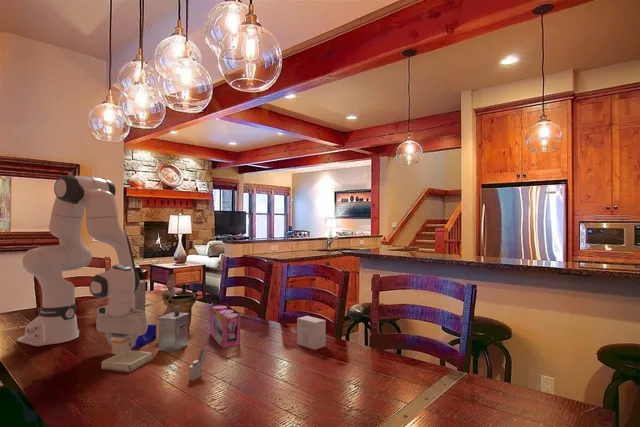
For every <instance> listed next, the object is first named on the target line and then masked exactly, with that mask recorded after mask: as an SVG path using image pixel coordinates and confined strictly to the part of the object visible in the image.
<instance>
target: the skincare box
mask: <svg viewBox="0 0 640 427" xmlns="http://www.w3.org/2000/svg"><path fill="white" fill-rule="evenodd" d="M326 322H327V320H326V319H321V318H318V317H313V316H310V315H305V316H301V317H297V318H296V325H297V326H296V328H297V329H296V330H297V331H296V336H297V337H296V345H297V346H298V345H299V346H301V347H305V348H308V349H311V350H314V351H316V350H318V349H321V348H324V347H326V345H327V344H326V342H327V341H326V340H327V339H326V338H327V337H326V336H327V334H326V330H327V328H326V327H327V326H326V325H327V323H326Z"/></svg>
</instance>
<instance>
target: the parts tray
mask: <svg viewBox="0 0 640 427" xmlns="http://www.w3.org/2000/svg"><path fill="white" fill-rule="evenodd" d="M151 361H154V353H153V352H149V351H141V350H132V349H131V350H125V351H123V352H121V353H119V354H113V355H112V356H110V357H108V358H105V359H104V360H102V361H101V370H109V371H117V372H125V373H131V372H133V371H135V370H136V369H138V368H140V367H143V366H144V365H146V364H147V363H150V362H151Z"/></svg>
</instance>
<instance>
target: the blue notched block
mask: <svg viewBox="0 0 640 427" xmlns="http://www.w3.org/2000/svg"><path fill="white" fill-rule="evenodd" d="M156 339H157V324H155V323H149V324H147V332H146V333H145V334H143V335H141V336H138V338H137V340H136V341H135V346H133V347H134V348H133V349H140V348H142V347H143V346H145V345H147V344H148V343H149V344H150V342H152V341H154V340H156Z"/></svg>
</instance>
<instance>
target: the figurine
mask: <svg viewBox="0 0 640 427" xmlns="http://www.w3.org/2000/svg"><path fill="white" fill-rule="evenodd" d="M175 286H176V283H175V274H173V273H172V274H170V275H169V276H168V280H167V282H166V284H165V288H166V289H164V290H163V292H162V293H161V296H162V297H163V294H164V293H169V295H170V297H172V296H176V289H175ZM161 300H162V301H163V299H161ZM164 305H165V304H164ZM165 306H166V308H165V310H164V311H163V314H164V315H166V314H169V313H171V312H172V310H171V308H170V306H169V305H165Z"/></svg>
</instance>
